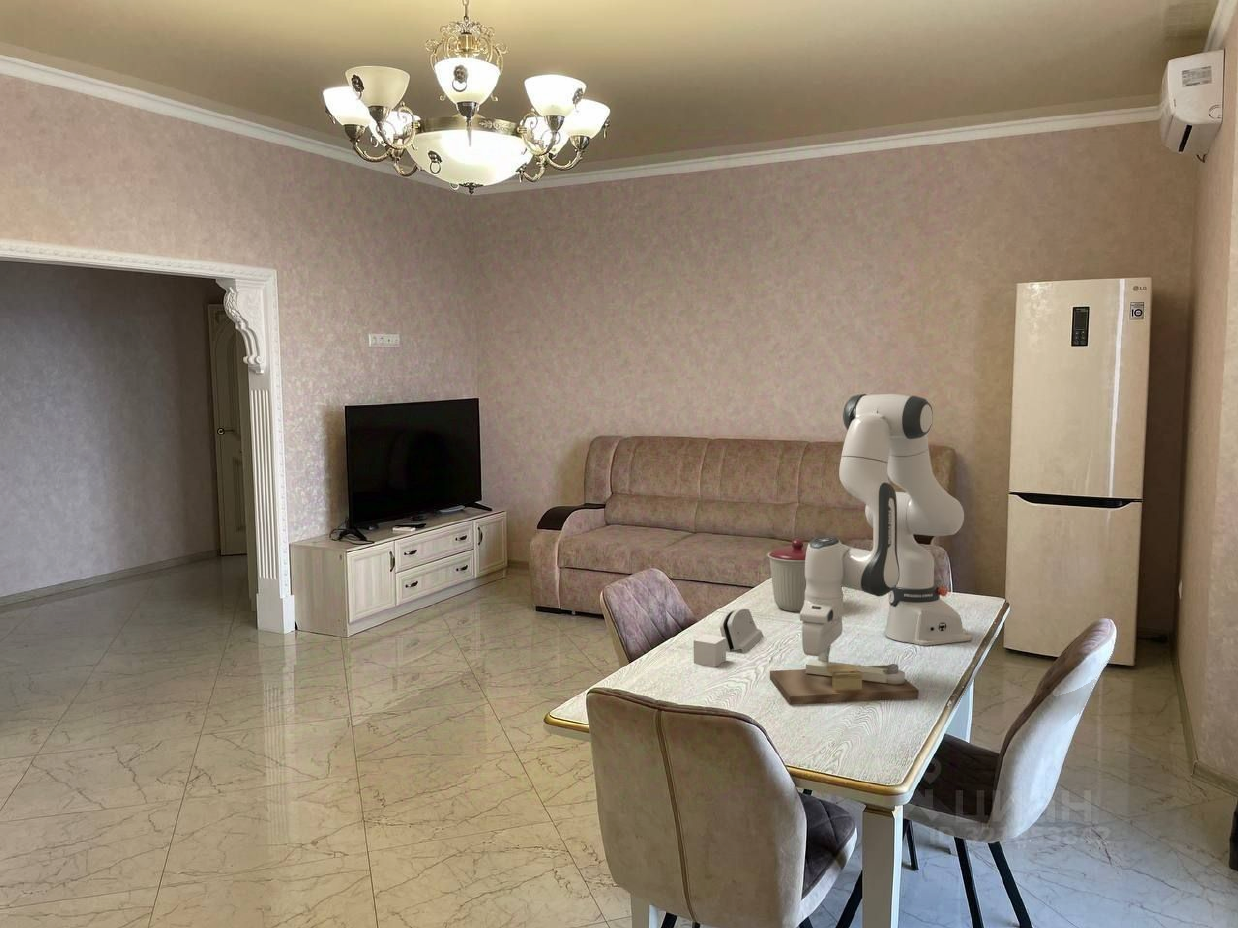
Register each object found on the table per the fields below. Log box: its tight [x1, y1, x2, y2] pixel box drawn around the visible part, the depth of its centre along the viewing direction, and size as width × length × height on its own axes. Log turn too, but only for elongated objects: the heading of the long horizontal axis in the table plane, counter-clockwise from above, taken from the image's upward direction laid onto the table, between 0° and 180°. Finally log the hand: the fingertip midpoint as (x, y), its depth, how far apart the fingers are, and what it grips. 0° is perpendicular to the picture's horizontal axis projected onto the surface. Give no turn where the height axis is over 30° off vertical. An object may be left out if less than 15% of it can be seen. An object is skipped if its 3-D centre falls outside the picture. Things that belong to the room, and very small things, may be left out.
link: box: [805, 659, 906, 685], centre depth 211 cm, size 22×5×4 cm, turn 65°
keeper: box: [827, 664, 862, 692], centre depth 205 cm, size 6×6×4 cm
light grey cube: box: [693, 633, 727, 668], centre depth 230 cm, size 6×6×6 cm
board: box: [769, 664, 920, 706], centre depth 210 cm, size 29×17×2 cm, turn 95°
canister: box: [766, 538, 808, 613], centre depth 279 cm, size 18×18×21 cm
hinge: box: [719, 608, 764, 654], centre depth 245 cm, size 17×5×10 cm, turn 154°
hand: (823, 663), depth 217 cm, fingers closed
